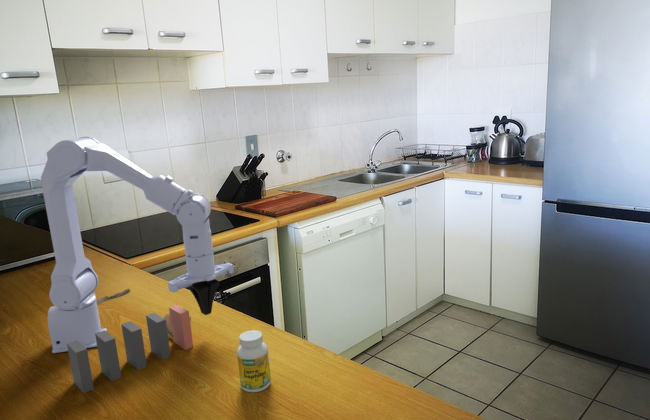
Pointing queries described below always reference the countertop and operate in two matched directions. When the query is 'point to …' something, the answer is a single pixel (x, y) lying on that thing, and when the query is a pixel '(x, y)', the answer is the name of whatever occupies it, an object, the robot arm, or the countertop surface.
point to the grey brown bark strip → (112, 296)
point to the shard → (169, 325)
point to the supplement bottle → (253, 362)
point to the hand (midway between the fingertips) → (206, 312)
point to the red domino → (181, 326)
